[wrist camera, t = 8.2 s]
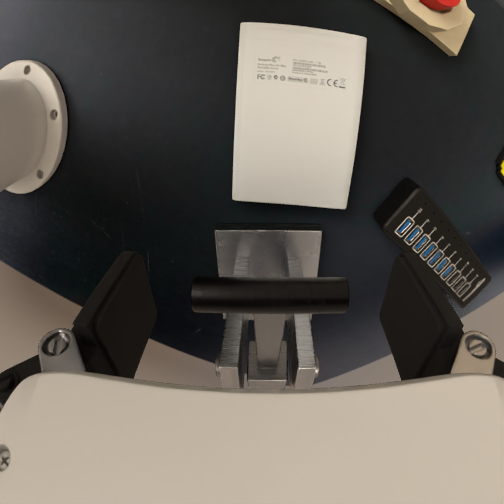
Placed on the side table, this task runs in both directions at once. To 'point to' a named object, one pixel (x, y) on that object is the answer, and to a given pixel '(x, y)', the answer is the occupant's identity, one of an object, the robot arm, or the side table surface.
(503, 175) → the pixel art figurine
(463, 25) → the control block
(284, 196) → the hard drive
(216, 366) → the bracket
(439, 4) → the button
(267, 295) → the lever
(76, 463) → the robot arm
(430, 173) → the side table surface
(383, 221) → the multiport hub
